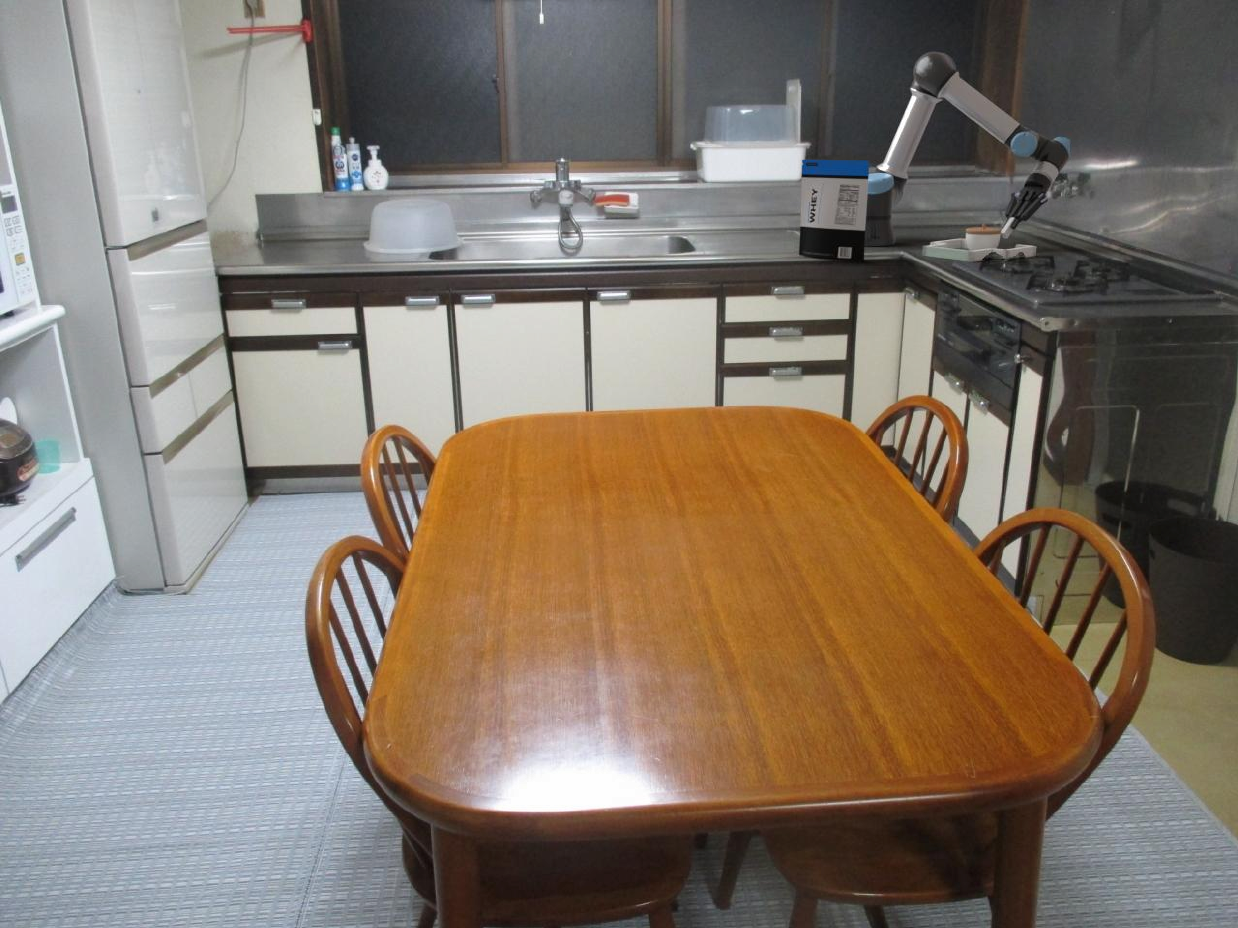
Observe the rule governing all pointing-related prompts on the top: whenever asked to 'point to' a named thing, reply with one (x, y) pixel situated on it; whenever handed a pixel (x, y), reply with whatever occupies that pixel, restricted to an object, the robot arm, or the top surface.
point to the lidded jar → (982, 238)
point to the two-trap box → (959, 251)
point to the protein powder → (833, 209)
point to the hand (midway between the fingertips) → (1003, 235)
